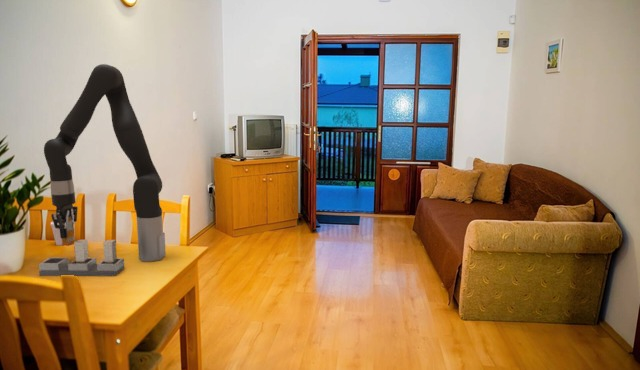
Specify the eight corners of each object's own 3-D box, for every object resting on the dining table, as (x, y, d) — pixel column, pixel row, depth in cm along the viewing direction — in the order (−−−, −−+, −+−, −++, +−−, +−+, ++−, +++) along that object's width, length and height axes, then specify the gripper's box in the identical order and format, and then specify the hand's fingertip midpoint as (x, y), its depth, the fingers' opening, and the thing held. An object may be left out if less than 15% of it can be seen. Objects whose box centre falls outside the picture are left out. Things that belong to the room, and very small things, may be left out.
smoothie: (72, 242, 188) (70, 210, 185) (62, 246, 182) (60, 214, 179) (59, 241, 188) (56, 210, 186) (48, 245, 182) (45, 213, 180)
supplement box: (61, 245, 164) (58, 219, 162) (69, 242, 167) (66, 217, 165) (67, 246, 162) (64, 220, 161) (75, 243, 166) (73, 218, 164)
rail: (125, 267, 160) (123, 237, 158) (115, 276, 152) (113, 244, 150) (52, 267, 159) (49, 237, 157) (38, 275, 151) (35, 243, 149)
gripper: (62, 195, 154) (67, 241, 157) (82, 188, 168) (87, 230, 171) (41, 195, 154) (46, 242, 157) (63, 188, 168) (67, 231, 171)
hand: (67, 235), depth 164 cm, fingers closed on supplement box, 4 cm apart
